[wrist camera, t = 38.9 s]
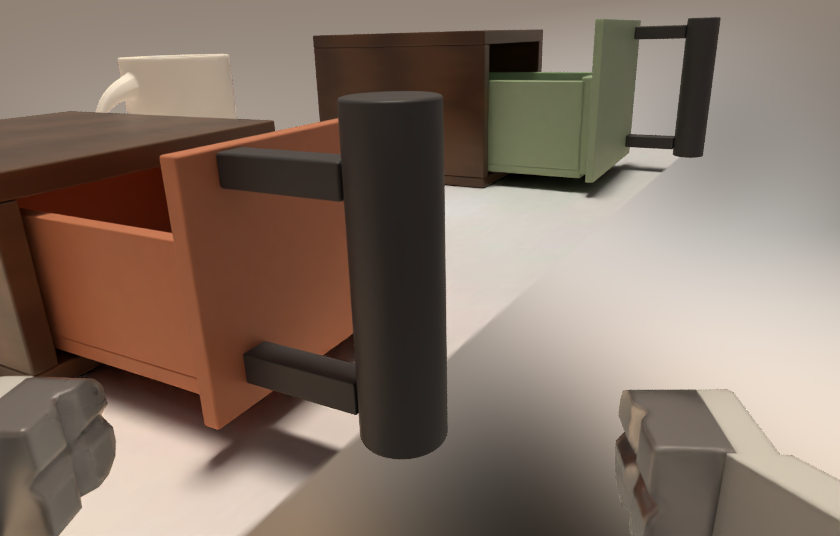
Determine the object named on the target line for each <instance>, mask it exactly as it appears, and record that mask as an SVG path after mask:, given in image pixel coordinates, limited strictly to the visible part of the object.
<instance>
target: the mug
mask: <svg viewBox="0 0 840 536" xmlns="http://www.w3.org/2000/svg"><path fill="white" fill-rule="evenodd" d="M117 60H118V65H119V70H120V76H121V78H119V79H118V80H117V81H115V82H114V83H113V84H112V85H111V86H110V87H108V88H107V90H106V91H105V92H104V94H103V95H102V97H101V99H100V101H99V103H98V106H97V110H96V112H99V113H109V111H110V110H111V109H112V108H113V107H114V106H116V105H117V104H119V103H121V102H123V101H125V103H126V109H127V114H142V115H163V116H185V117H206V118H228V119H237V112H236V104H235V96H234V88H233V80H232V72H231V64H230V56H229V55H228V54H193V55H164V56H140V57H123V58H118V59H117Z"/></svg>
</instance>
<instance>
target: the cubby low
mask: <svg viewBox="0 0 840 536" xmlns="http://www.w3.org/2000/svg"><path fill="white" fill-rule="evenodd" d="M270 132H275V127H274V121H270V120H249V119H228V118H206V117H185V116H163V115H142V114H120V113H99V112H77V111H68V112H60V113H52V114H43V115H36V116H27V117H19V118H10V119H2V120H0V377H3V376H33V377H62V378H76V377H78V376H80V375H82V374H84V373H86V372H88V371H90V370H92V369H94V368H96V367H98V366H100V365H102V364H104V363H101V362H98V361H95V360H92V359H88V358H85V357H82V356H79V355H76V354H73V353H70V352H67V351H64V350H60V349H57V348H55V347H54V343H53V339H52V335H51V332H50V328H49V324H48V320H47V316H46V312H45V308H44V304H43V300H42V296H41V292H40V288H39V284H38V280H37V276H36V272H35V268H34V264H33V261H32V257H31V253H30V249H29V245H28V241H27V237H26V233H25V229H24V225H23V221H22V217H21V213H20V209H19V205H18V202H17V201H16V199H20V198H25V197H29V196H33V195H38V194H42V193H47V192H51V191H55V190H60V189H64V188H69V187H73V186H77V185H82V184H86V183H91V182H95V181H100V180H104V179H108V178H113V177H117V176H122V175H126V174H130V173H135V172H139V171H144V170H148V169H152V168H157V167H161V164H160V156H161V155H164V154H169V153H174V152H179V151H183V150H188V149H193V148H198V147H203V146H207V145H212V144H217V143H222V142H227V141H231V140H236V139H241V138H246V137H251V136H255V135H260V134H265V133H270Z"/></svg>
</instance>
